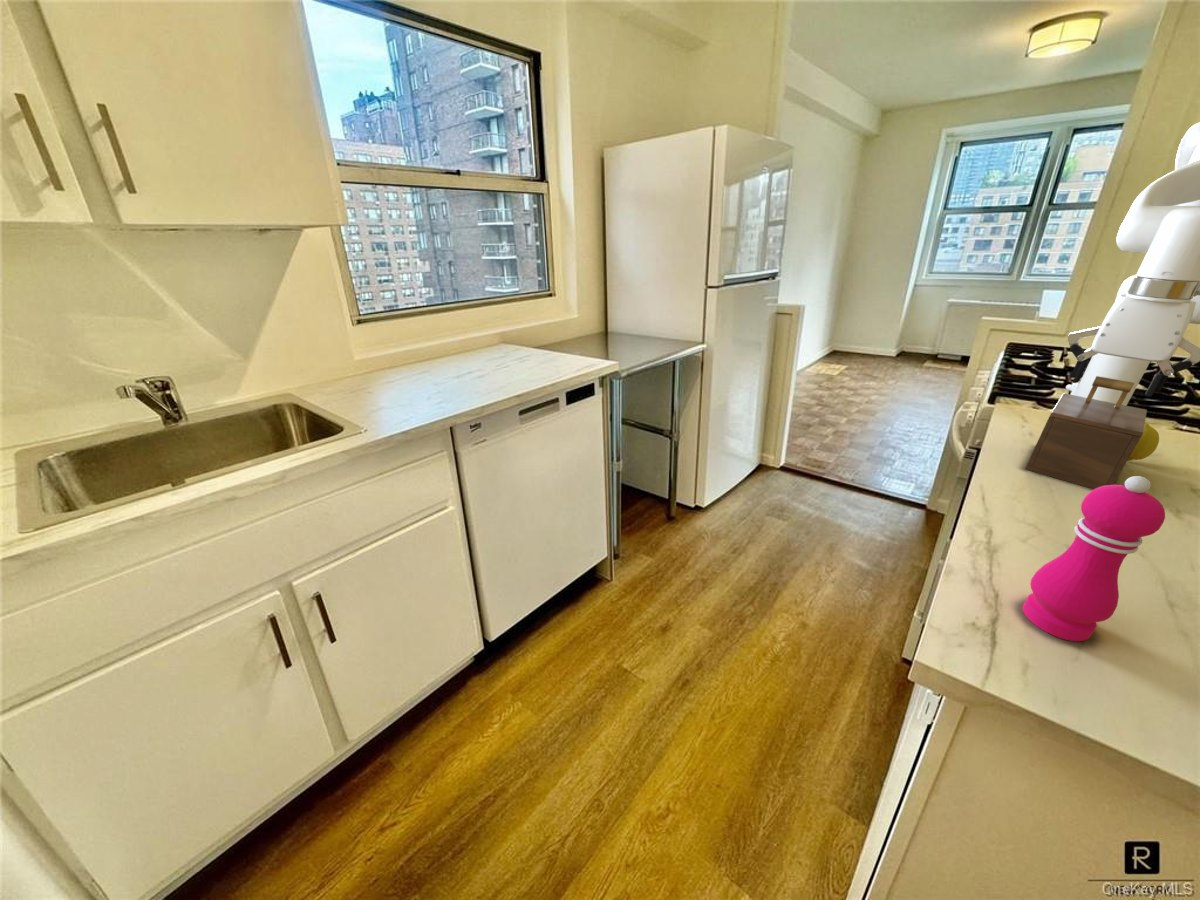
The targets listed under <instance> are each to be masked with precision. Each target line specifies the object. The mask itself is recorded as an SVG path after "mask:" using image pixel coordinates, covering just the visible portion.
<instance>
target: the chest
mask: <svg viewBox="0 0 1200 900" xmlns="http://www.w3.org/2000/svg"><path fill="white" fill-rule="evenodd" d="M1140 438H1141V437H1139V436H1135V435H1130V434H1126V433H1121V432H1117V431H1113V430H1108V429H1104V428H1099V427H1095V426H1091V425H1086V424H1082V423H1077V422H1073V421H1069V420H1064V419H1060V418H1055V417H1051V416H1050V415H1049V416H1048V418H1047V421H1046V422H1045V424H1044V427H1043V429H1042V431H1041V433H1040V435H1039V438H1038V440H1037V442H1036V444H1035V446H1034V447H1033V450H1032V452H1031V455H1030V456H1029V459H1028V461H1027V463H1026V465H1025V467H1024V470H1027V471H1030V472H1033V473H1037V474H1040V475H1042V476H1043V475H1044V476H1047V477H1051V478H1054V479H1058V480H1061V481H1063V482H1064V481H1065V482H1068V483H1071V484H1074V485H1079V486H1081V487H1085V488H1088V489H1092V490H1094V489H1096V488H1098V487H1101V486H1105V485H1115V483H1116V481H1117V480H1118V478H1119V477H1120V474H1121V472H1122V471H1123V469H1124V468H1125V466H1126V464H1127V462H1128V461H1127V460H1128V459H1129V457H1130V455H1131V453H1132V452H1133V450H1134V448H1135V446H1136V445H1137V443H1138V441H1139V439H1140Z"/></svg>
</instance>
